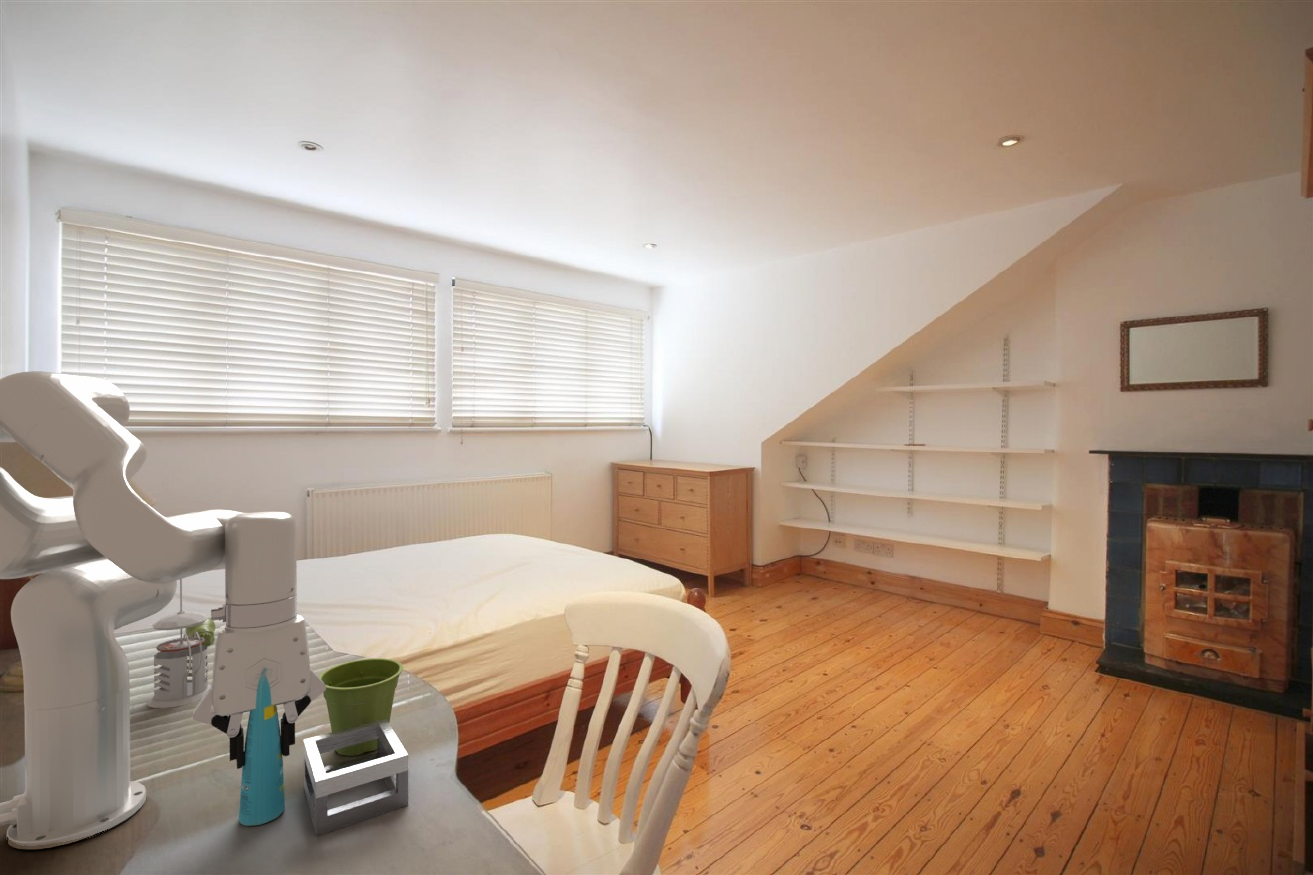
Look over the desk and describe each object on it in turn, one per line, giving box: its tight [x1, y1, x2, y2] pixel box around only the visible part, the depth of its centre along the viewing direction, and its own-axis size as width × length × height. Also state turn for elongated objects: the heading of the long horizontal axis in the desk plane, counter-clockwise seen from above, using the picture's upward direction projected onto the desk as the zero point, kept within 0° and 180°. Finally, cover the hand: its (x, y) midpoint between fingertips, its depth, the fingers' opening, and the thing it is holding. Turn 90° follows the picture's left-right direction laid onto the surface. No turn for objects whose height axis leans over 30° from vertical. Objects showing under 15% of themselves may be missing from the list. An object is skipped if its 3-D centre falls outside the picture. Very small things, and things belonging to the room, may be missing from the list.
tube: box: [238, 668, 286, 826], centre depth 77 cm, size 7×5×19 cm, turn 39°
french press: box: [146, 578, 212, 709], centre depth 112 cm, size 10×12×25 cm
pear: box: [184, 617, 216, 646], centre depth 142 cm, size 6×5×10 cm
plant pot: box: [318, 657, 404, 757], centre depth 94 cm, size 12×12×11 cm
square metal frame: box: [303, 719, 409, 837], centre depth 81 cm, size 10×12×6 cm
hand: (263, 756), depth 77 cm, fingers closed on tube, 4 cm apart
